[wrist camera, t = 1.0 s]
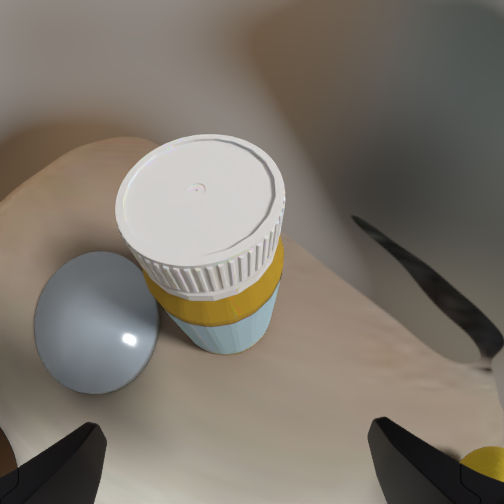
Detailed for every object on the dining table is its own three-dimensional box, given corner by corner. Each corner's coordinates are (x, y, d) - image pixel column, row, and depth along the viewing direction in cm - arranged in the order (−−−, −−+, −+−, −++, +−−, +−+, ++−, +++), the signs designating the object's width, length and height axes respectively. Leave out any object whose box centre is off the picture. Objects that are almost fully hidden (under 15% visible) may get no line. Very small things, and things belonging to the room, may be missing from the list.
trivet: (65, 413, 18) (57, 412, 17) (32, 292, 23) (25, 288, 22) (186, 356, 21) (183, 354, 20) (130, 235, 26) (126, 228, 25)
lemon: (426, 496, 14) (480, 513, 7) (449, 443, 16) (508, 444, 9) (463, 496, 13) (515, 506, 6) (482, 447, 15) (538, 445, 8)
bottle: (274, 280, 24) (301, 136, 11) (263, 362, 21) (289, 297, 8) (194, 269, 25) (145, 126, 12) (176, 347, 21) (75, 262, 8)
